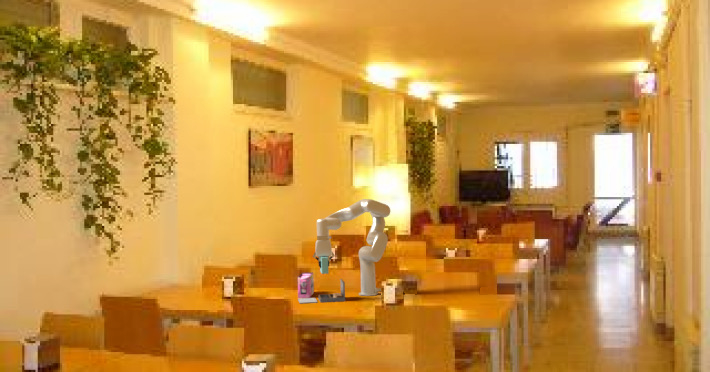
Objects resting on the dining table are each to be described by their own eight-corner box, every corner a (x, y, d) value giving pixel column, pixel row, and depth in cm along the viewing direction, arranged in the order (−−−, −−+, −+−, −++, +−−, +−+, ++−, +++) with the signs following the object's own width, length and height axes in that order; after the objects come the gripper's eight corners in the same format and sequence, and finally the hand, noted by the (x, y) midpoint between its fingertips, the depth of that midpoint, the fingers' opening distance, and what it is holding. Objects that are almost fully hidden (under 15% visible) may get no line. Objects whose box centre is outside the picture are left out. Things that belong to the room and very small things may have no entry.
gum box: (309, 298, 524) (309, 277, 524) (297, 298, 525) (296, 277, 524) (314, 292, 548) (313, 272, 548) (302, 292, 549) (301, 272, 548)
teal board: (326, 271, 520) (325, 255, 520) (328, 273, 508) (327, 257, 508) (320, 271, 519) (319, 255, 519) (322, 273, 508) (321, 257, 507)
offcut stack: (339, 298, 522) (339, 292, 521) (343, 301, 510) (343, 295, 510) (333, 298, 521) (332, 293, 520) (337, 301, 509) (337, 296, 509)
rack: (342, 297, 523) (341, 278, 523) (345, 301, 508) (344, 282, 508) (318, 298, 521) (317, 279, 521) (320, 302, 506) (319, 283, 506)
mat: (315, 298, 521) (315, 297, 521) (317, 302, 505) (317, 301, 505) (297, 299, 520) (297, 298, 520) (299, 303, 504) (299, 302, 504)
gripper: (335, 237, 518) (336, 266, 519) (309, 238, 516) (310, 267, 516) (336, 238, 511) (338, 267, 511) (310, 239, 508) (311, 268, 509)
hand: (324, 267), depth 514 cm, fingers closed on teal board, 4 cm apart
